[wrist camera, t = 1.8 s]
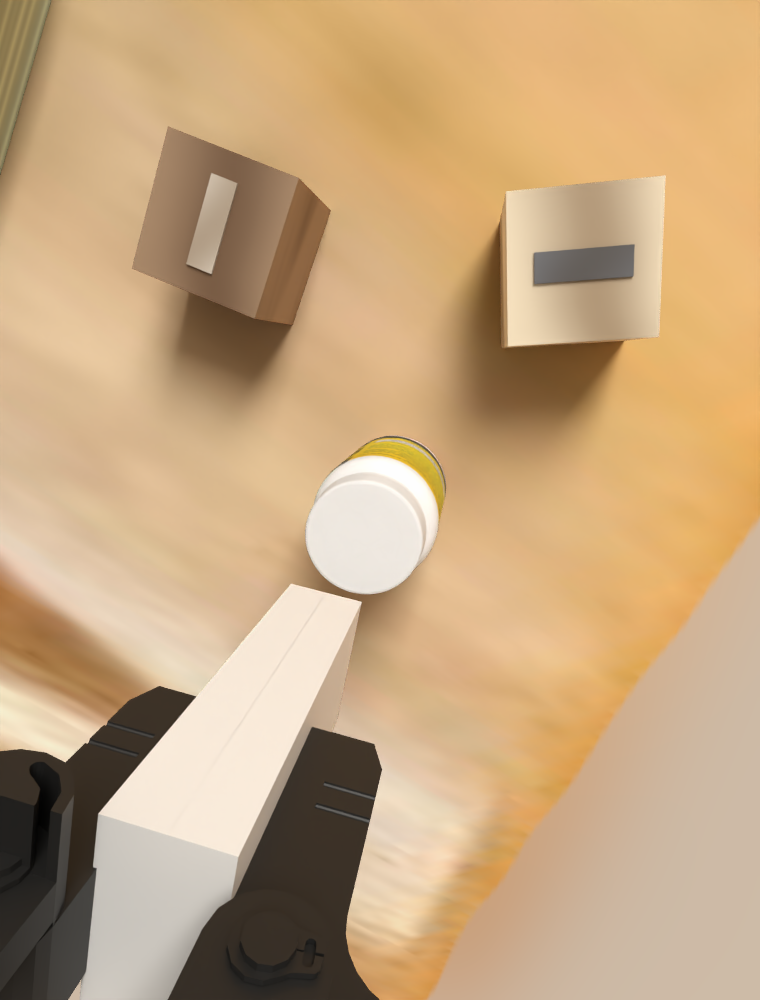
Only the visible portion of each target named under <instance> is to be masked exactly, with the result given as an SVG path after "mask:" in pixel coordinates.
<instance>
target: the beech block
mask: <svg viewBox="0 0 760 1000" xmlns="http://www.w3.org/2000/svg"><path fill="white" fill-rule="evenodd" d="M664 200H665V176H656V177H646V178H636V179H626V180H616V181H606V182H596V183H586V184H576V185H566V186H556V187H546V188H536V189H526V190H516V191H506V194H505V199H504V204H503V209H502V213H501V218H500V288H501V348H515V347H531V346H547V345H563V344H580V343H596V342H612V341H627V340H636V339H645V338H654V337H659V326H660V301H661V276H662V251H663V225H664Z"/></svg>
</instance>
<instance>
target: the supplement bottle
mask: <svg viewBox="0 0 760 1000" xmlns="http://www.w3.org/2000/svg"><path fill="white" fill-rule="evenodd" d="M445 494H446V481H445V475H444V472H443V469H442V466H441V464H440V462H439V461H438V459H437V458H436V456H435V455H434V454H433V453H432V452H431V451H430V450H429V449H428V448H427V447H426V446H424V445H423V444H421V443H419V442H418V441H416V440H413V439H411V438H407V437H403V436H384V437H380V438H377V439H374V440H372V441H370V442H368V443H366V444H365V445H363V446H362V447H361V448H359V449H358V450H357V451H356V452H355V453H353V454H352V455H351V456H350V457H349V458H347V459H346V460H345V461H344V462H342V463H341V464H340V465H339V466H338V467H336V468H335V469H334V470H333V471H332V472H331V473H330V474H329V475H328V476H327V477H326V479H325V480H324V481H323V483H322V485H321V486H320V488H319V490H318V492H317V495H316V498H315V501H314V505H313V507H312V509H311V511H310V513H309V516H308V519H307V522H306V529H305V540H306V546H307V550H308V553H309V556H310V558H311V560H312V562H313V564H314V566H315V567H316V569H317V570H318V571H319V572H320V574H321V575H322V576H323V577H324V578H325V579H327V580H328V581H329V582H330V583H332V584H333V585H335V586H337V587H339V588H341V589H343V590H346V591H348V592H352V593H357V594H377V593H382V592H385V591H388V590H390V589H393V588H394V587H396V586H398V585H399V584H401V583H402V582H404V581H405V580H406V579H407V578H408V577H409V576H410V574H411V573H412V572H413V571H414V569H415V568H416V567H417V566H418V565H419V564H421V563H422V561H423V560H424V559H425V558H426V557H427V555H428V554H429V552H430V551H431V549H432V547H433V545H434V542H435V539H436V535H437V532H438V526H439V522H440V517H441V513H442V508H443V504H444V500H445Z"/></svg>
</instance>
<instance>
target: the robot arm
mask: <svg viewBox="0 0 760 1000" xmlns="http://www.w3.org/2000/svg"><path fill="white" fill-rule="evenodd" d="M361 604H362V602H360V601H357V600H353V599H349V598H345V597H341V596H337V595H333V594H329V593H325V592H321V591H318V590H314V589H310V588H306V587H302V586H298V585H294V584H290V586H289V587H288V588H287V589H286V590H285V592H284V593H283V594H282V595H281V596H280V598H279V599H278V600H277V601H276V602H275V604H274V605H273V606H272V607H271V608H270V609H269V611H268V612H267V613H266V614H265V615H264V617H263V618H262V619H261V620H260V621H259V623H258V624H257V625H256V626H255V627H254V629H253V630H252V631H251V632H250V633H249V635H248V636H247V637H246V638H245V639H244V640H243V642H242V643H241V644H240V645H239V646H238V648H237V649H236V650H235V651H234V652H233V654H232V655H231V656H230V657H229V658H228V660H227V661H226V662H225V663H224V664H223V666H222V667H221V668H220V669H219V670H218V672H217V673H216V674H215V675H214V676H213V677H212V679H211V680H210V681H209V682H208V683H207V685H206V686H205V687H204V688H203V689H202V691H201V692H200V693H199V694H198V695H197V697H196V696H193V695H189V694H185V693H182V692H178V691H175V690H171V689H168V688H164V687H161V686H159V687H157V688H154V689H152V690H150V691H148V692H146V693H144V694H142V695H139V696H137V697H135V698H133V699H131V700H129V701H128V702H127V703H126V704H125V705H124V706H123V707H122V708H121V709H120V710H119V711H118V712H117V713H116V714H115V715H114V716H113V717H112V718H111V719H110V720H109V721H108V723H107V725H106V726H105V725H103V726H102V727H101V728H100V729H99V730H98V731H97V732H96V733H95V734H94V735H93V736H92V737H91V738H90V741H89V743H88V744H86V743H85V744H84V745H83V746H82V747H81V748H80V749H79V750H78V751H77V752H76V753H75V754H74V755H73V756H72V757H71V758H70V759H69V760H68V761H67V762H66V763H65V762H63V761H61V760H59V759H57V758H55V757H53V756H51V755H49V754H47V753H44V752H37V751H30V750H23V749H18V750H9V751H0V1000H68V999H69V997H70V996H71V994H72V993H73V991H74V990H75V988H76V986H77V985H78V983H79V982H80V980H81V979H82V980H81V990H80V1000H379V999H378V998H377V997H376V996H375V995H374V994H373V993H372V992H371V991H370V990H369V989H368V988H367V986H366V985H365V983H364V982H363V980H362V979H361V977H360V976H359V975H358V973H357V972H356V969H355V967H354V964H353V962H352V959H351V957H350V955H349V952H348V945H347V939H346V924H347V915H348V911H349V906H350V902H351V898H352V894H353V890H354V885H355V881H356V877H357V873H358V869H359V864H360V860H361V856H362V852H363V847H364V843H365V839H366V835H367V831H368V826H369V822H370V818H371V814H372V810H373V805H374V801H375V797H376V793H377V789H378V784H379V780H380V776H381V772H382V768H381V765H380V762H379V758H378V755H377V752H376V749H375V746H374V744H372V743H368V742H365V741H361V740H358V739H354V738H351V737H347V736H344V735H340V734H336V733H333V732H332V731H333V728H334V726H335V723H336V720H337V718H338V713H339V708H340V704H341V699H342V694H343V689H344V685H345V680H346V675H347V670H348V666H349V661H350V656H351V651H352V647H353V642H354V637H355V632H356V628H357V623H358V618H359V613H360V609H361Z"/></svg>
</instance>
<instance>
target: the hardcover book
mask: <svg viewBox="0 0 760 1000" xmlns="http://www.w3.org/2000/svg"><path fill="white" fill-rule="evenodd" d="M50 3H51V0H0V174H1V170H2V167H3V164H4V160H5V157H6V153H7V150H8V147H9V143H10V140H11V136H12V133H13V129H14V126H15V123H16V119H17V116H18V112H19V109H20V106H21V102H22V99H23V95H24V92H25V89H26V85H27V82H28V78H29V75H30V71H31V68H32V65H33V61H34V58H35V54H36V51H37V48H38V44H39V41H40V37H41V34H42V31H43V27H44V24H45V20H46V17H47V13H48V10H49V7H50Z"/></svg>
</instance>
